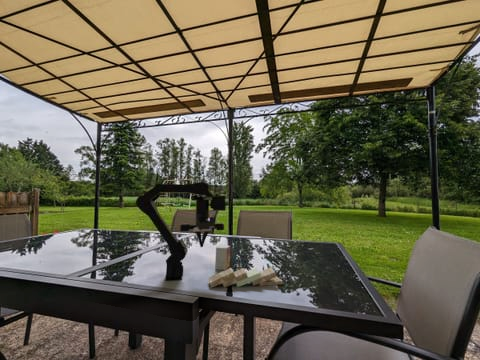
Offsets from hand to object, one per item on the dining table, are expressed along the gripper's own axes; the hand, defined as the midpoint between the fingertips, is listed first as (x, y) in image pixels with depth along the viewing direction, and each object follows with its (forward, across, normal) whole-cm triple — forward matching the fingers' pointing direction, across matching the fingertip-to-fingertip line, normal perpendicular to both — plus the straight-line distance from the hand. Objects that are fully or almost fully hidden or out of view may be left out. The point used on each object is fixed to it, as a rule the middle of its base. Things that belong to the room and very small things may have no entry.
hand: (201, 247), depth 99 cm
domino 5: (+14, +22, -10) cm, 28 cm away
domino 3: (+12, +13, -10) cm, 21 cm away
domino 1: (+12, +2, -9) cm, 15 cm away
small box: (+14, +13, +14) cm, 24 cm away
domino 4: (+12, +19, -10) cm, 25 cm away
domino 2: (+12, +7, -10) cm, 17 cm away
